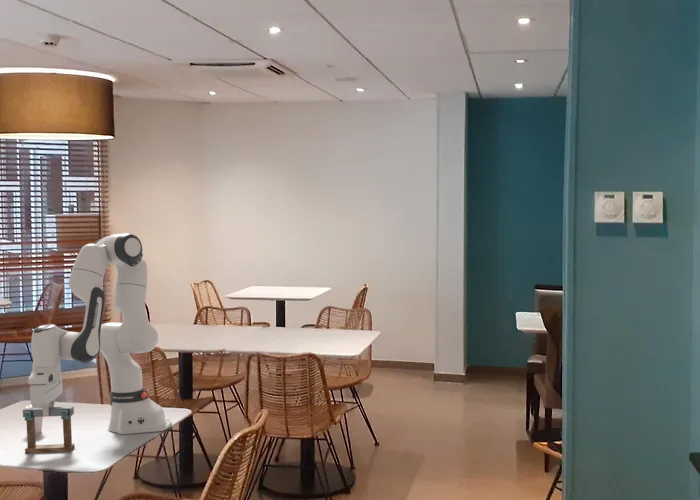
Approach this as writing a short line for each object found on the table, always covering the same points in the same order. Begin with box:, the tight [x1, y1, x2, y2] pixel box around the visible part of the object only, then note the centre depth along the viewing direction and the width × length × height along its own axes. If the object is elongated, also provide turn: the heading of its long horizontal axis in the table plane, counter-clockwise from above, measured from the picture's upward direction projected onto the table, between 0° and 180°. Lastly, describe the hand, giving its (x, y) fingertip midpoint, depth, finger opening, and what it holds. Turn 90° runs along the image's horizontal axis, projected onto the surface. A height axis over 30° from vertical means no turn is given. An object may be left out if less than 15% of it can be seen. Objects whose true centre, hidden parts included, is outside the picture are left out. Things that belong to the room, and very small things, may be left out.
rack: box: [23, 410, 75, 454], centre depth 254 cm, size 15×5×14 cm, turn 93°
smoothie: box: [25, 404, 44, 435], centre depth 277 cm, size 6×6×14 cm
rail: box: [22, 405, 75, 418], centre depth 254 cm, size 16×2×2 cm, turn 93°
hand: (48, 414), depth 254 cm, fingers closed on rail, 2 cm apart
